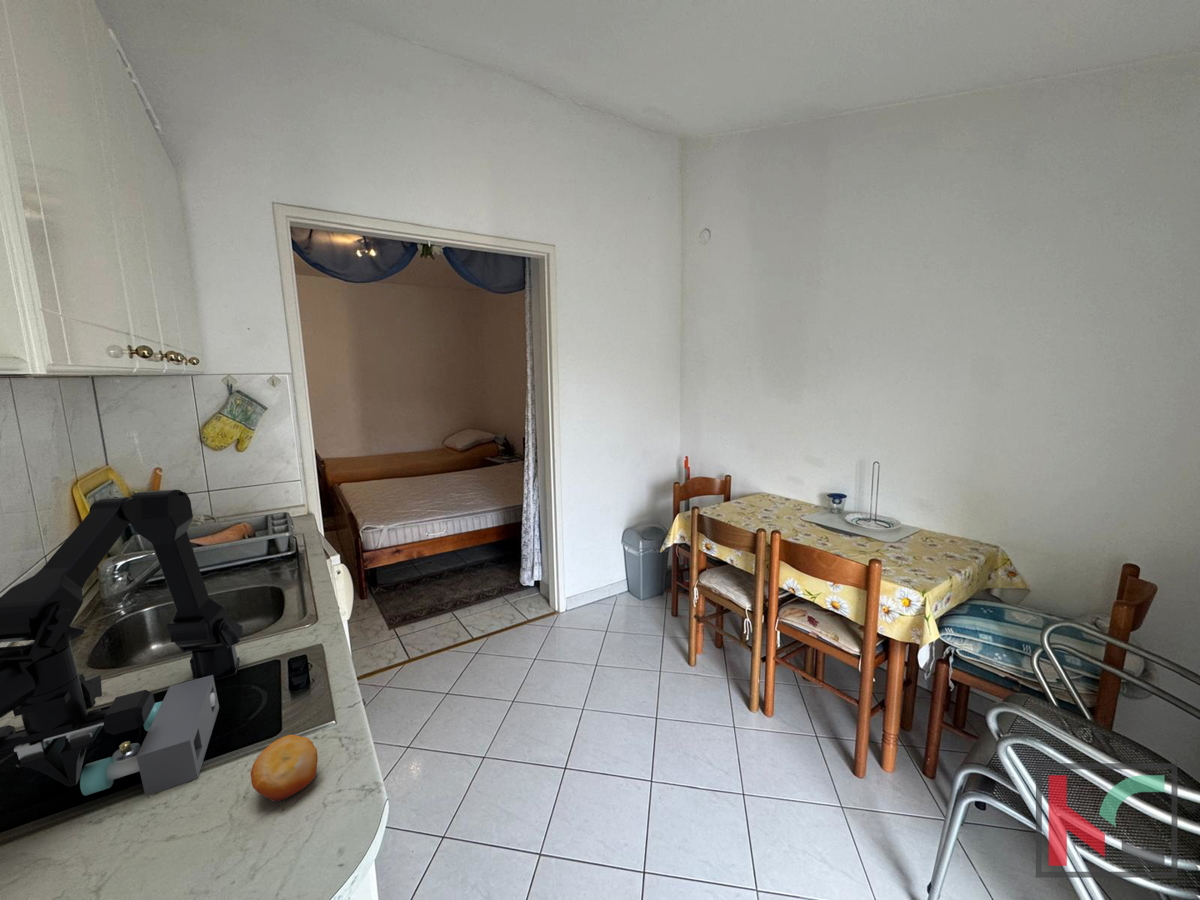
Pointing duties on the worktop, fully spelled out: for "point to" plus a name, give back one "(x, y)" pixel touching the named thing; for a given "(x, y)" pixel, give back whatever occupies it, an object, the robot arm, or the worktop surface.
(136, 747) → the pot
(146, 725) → the knob
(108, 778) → the knob
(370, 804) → the worktop surface
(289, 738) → the fruit
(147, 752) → the mount
